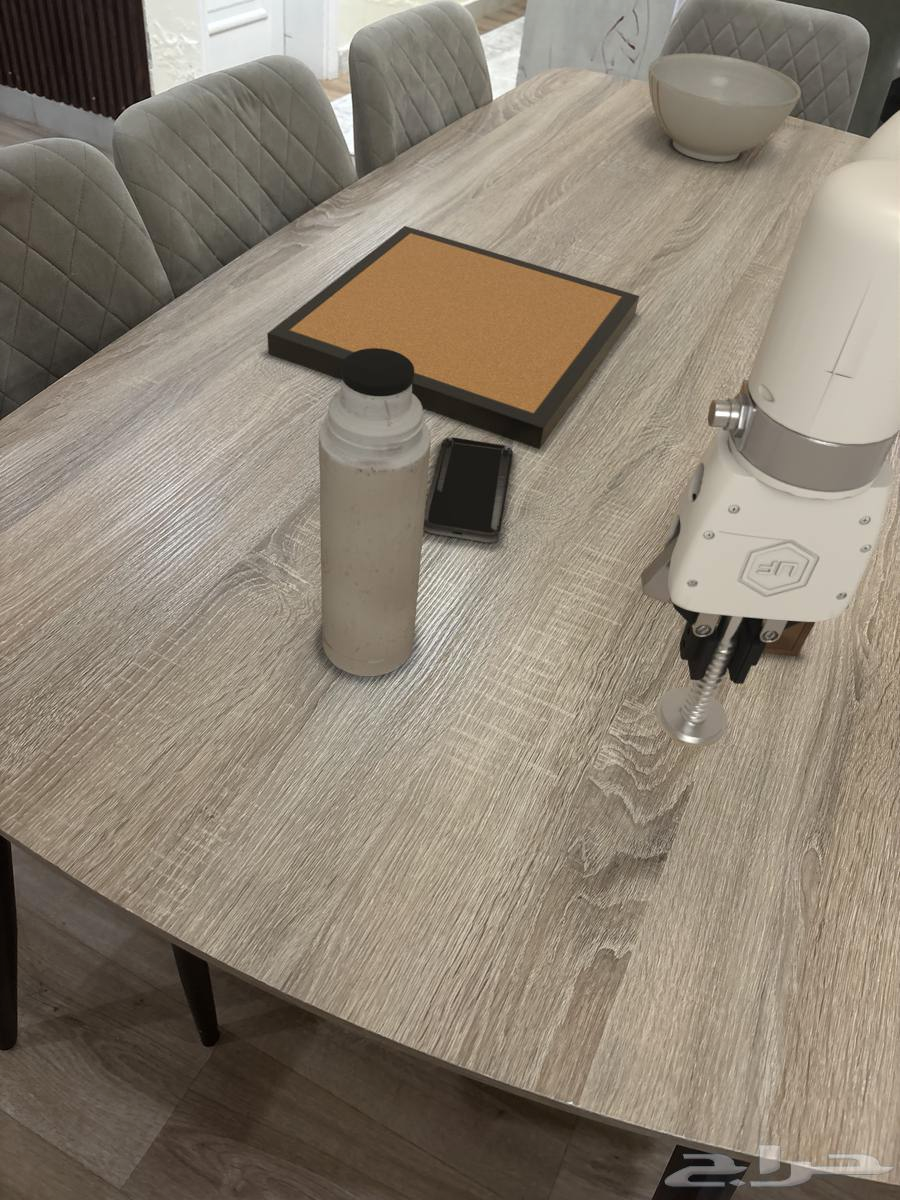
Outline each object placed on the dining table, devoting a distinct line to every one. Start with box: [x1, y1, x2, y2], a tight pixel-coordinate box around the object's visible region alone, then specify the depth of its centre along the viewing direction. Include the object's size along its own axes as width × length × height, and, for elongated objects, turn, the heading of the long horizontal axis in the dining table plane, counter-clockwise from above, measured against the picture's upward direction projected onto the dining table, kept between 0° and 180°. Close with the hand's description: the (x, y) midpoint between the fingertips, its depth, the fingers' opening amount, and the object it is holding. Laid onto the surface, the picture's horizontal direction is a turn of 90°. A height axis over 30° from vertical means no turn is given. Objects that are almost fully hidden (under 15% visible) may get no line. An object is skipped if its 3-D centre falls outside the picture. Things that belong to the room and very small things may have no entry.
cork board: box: [266, 225, 640, 450], centre depth 120 cm, size 36×3×35 cm
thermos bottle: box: [318, 348, 432, 677], centre depth 73 cm, size 8×8×28 cm
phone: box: [423, 436, 514, 544], centre depth 98 cm, size 8×1×15 cm
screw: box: [655, 615, 744, 748], centre depth 61 cm, size 13×5×5 cm
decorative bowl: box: [648, 52, 802, 163], centre depth 170 cm, size 27×27×12 cm
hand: (713, 663), depth 60 cm, fingers closed on screw, 2 cm apart
